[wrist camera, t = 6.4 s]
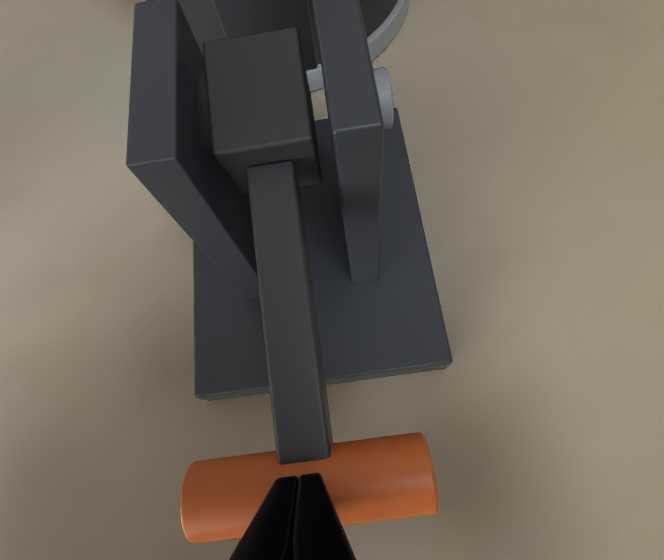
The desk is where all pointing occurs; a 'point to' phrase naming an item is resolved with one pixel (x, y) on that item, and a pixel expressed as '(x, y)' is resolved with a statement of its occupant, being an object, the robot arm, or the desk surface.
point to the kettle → (289, 24)
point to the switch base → (318, 208)
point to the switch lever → (288, 308)
